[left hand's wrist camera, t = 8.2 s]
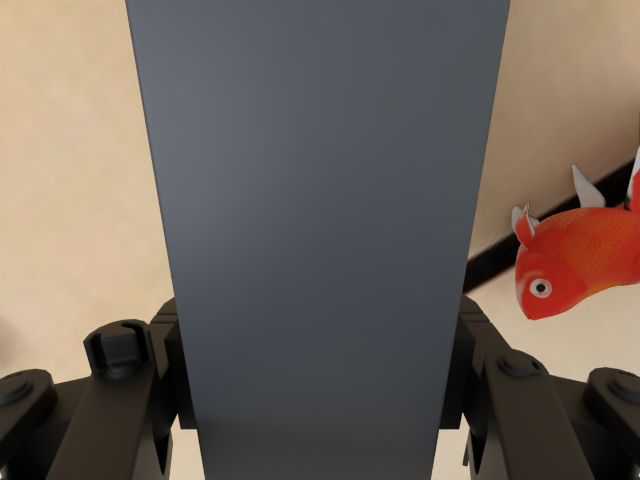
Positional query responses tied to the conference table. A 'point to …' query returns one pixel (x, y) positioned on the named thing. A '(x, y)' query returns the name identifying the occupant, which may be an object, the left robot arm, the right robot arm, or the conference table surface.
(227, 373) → the bar
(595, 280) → the fish
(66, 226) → the conference table surface
